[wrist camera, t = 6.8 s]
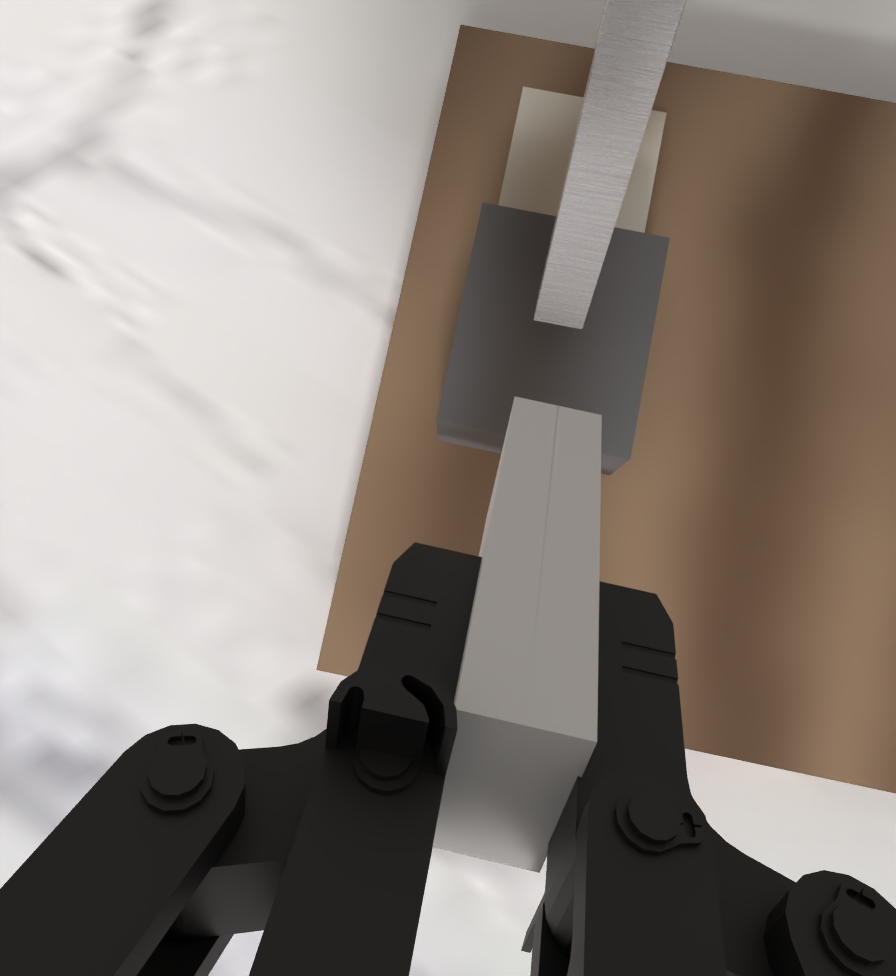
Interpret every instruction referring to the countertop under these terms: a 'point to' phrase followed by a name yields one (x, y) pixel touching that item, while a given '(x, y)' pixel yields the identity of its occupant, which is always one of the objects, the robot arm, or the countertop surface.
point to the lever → (604, 151)
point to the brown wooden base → (669, 385)
